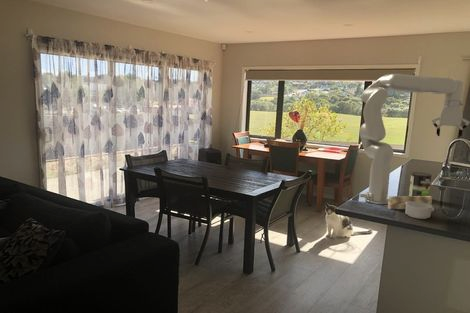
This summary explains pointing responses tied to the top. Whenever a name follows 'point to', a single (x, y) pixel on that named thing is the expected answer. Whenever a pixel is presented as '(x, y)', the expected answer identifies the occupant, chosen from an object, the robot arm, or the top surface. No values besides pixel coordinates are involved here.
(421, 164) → the top surface
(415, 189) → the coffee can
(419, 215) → the saucepan
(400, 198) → the stop board
